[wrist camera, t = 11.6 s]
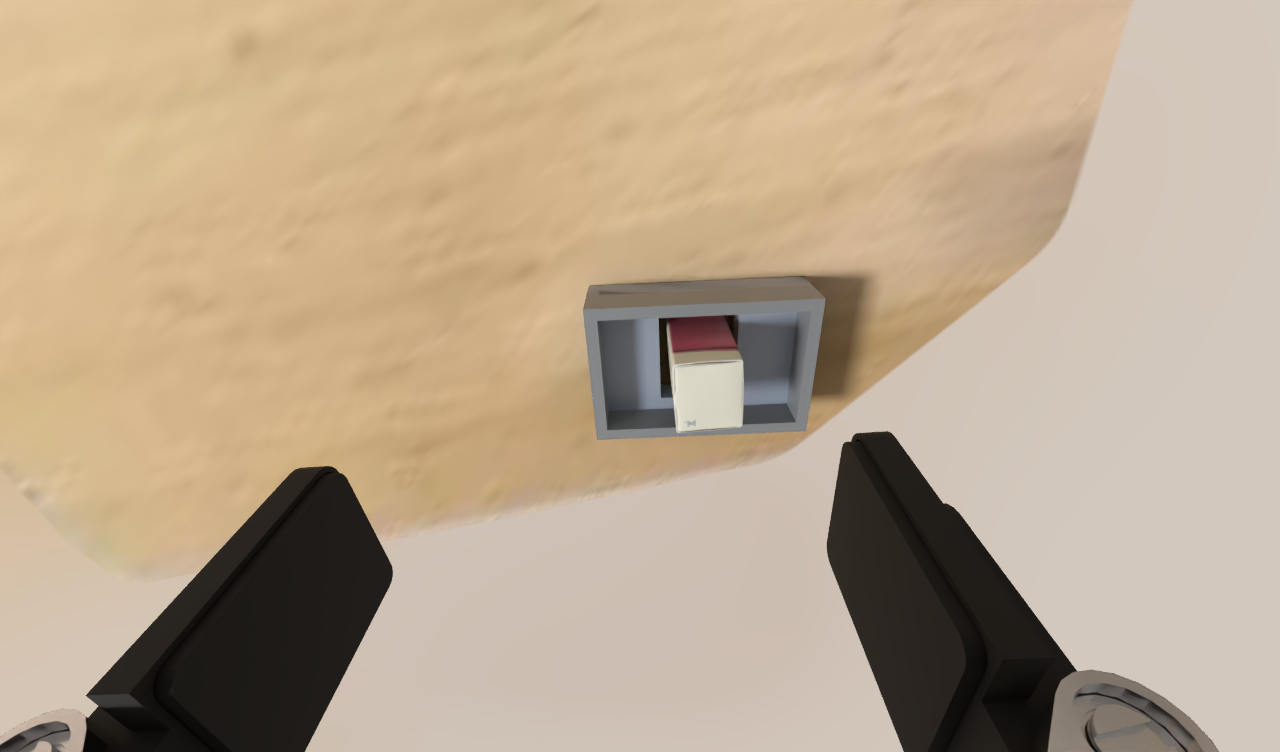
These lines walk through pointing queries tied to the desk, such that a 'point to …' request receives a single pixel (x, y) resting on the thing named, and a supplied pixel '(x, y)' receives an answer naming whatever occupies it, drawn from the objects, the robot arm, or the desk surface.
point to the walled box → (762, 329)
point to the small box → (705, 374)
